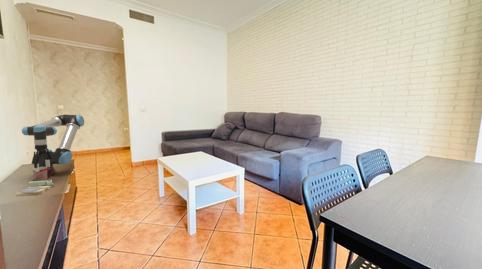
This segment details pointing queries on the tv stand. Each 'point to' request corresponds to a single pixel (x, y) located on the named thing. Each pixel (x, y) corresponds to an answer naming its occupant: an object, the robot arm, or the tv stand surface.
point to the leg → (40, 183)
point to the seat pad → (30, 189)
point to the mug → (42, 173)
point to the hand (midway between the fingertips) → (42, 169)
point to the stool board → (43, 189)
